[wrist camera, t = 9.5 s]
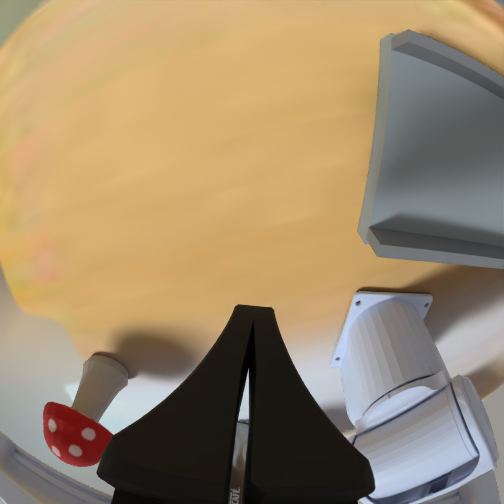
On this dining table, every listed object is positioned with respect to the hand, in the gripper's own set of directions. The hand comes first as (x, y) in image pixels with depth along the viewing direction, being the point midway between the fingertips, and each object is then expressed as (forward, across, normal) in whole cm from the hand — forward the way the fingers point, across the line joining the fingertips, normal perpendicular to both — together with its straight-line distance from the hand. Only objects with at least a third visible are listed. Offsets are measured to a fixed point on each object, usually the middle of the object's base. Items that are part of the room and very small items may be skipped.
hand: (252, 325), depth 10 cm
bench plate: (+10, -15, -7) cm, 20 cm away
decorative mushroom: (+11, +18, +22) cm, 30 cm away
